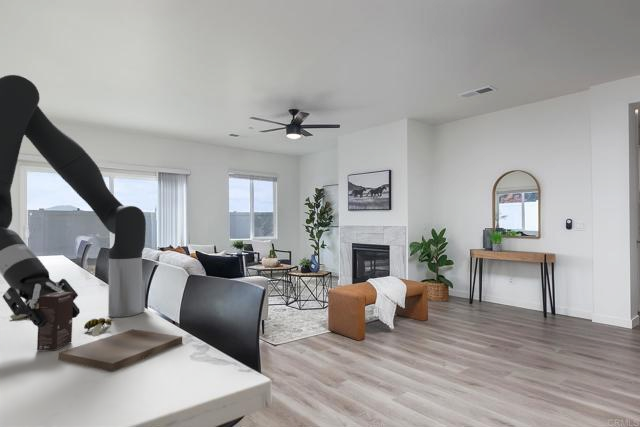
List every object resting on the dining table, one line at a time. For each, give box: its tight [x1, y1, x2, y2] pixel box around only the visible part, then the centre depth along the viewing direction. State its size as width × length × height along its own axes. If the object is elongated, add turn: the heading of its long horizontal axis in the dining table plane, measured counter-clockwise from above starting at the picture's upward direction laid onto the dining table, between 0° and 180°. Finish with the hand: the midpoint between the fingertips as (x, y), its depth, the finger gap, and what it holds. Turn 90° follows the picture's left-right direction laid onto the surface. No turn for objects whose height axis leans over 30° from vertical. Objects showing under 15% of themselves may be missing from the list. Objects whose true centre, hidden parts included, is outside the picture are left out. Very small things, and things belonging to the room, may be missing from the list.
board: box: [57, 328, 183, 372], centre depth 83 cm, size 18×16×2 cm
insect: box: [83, 317, 116, 337], centre depth 99 cm, size 11×6×5 cm, turn 16°
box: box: [36, 292, 74, 352], centre depth 86 cm, size 6×4×12 cm
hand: (60, 319), depth 86 cm, fingers open, 8 cm apart
